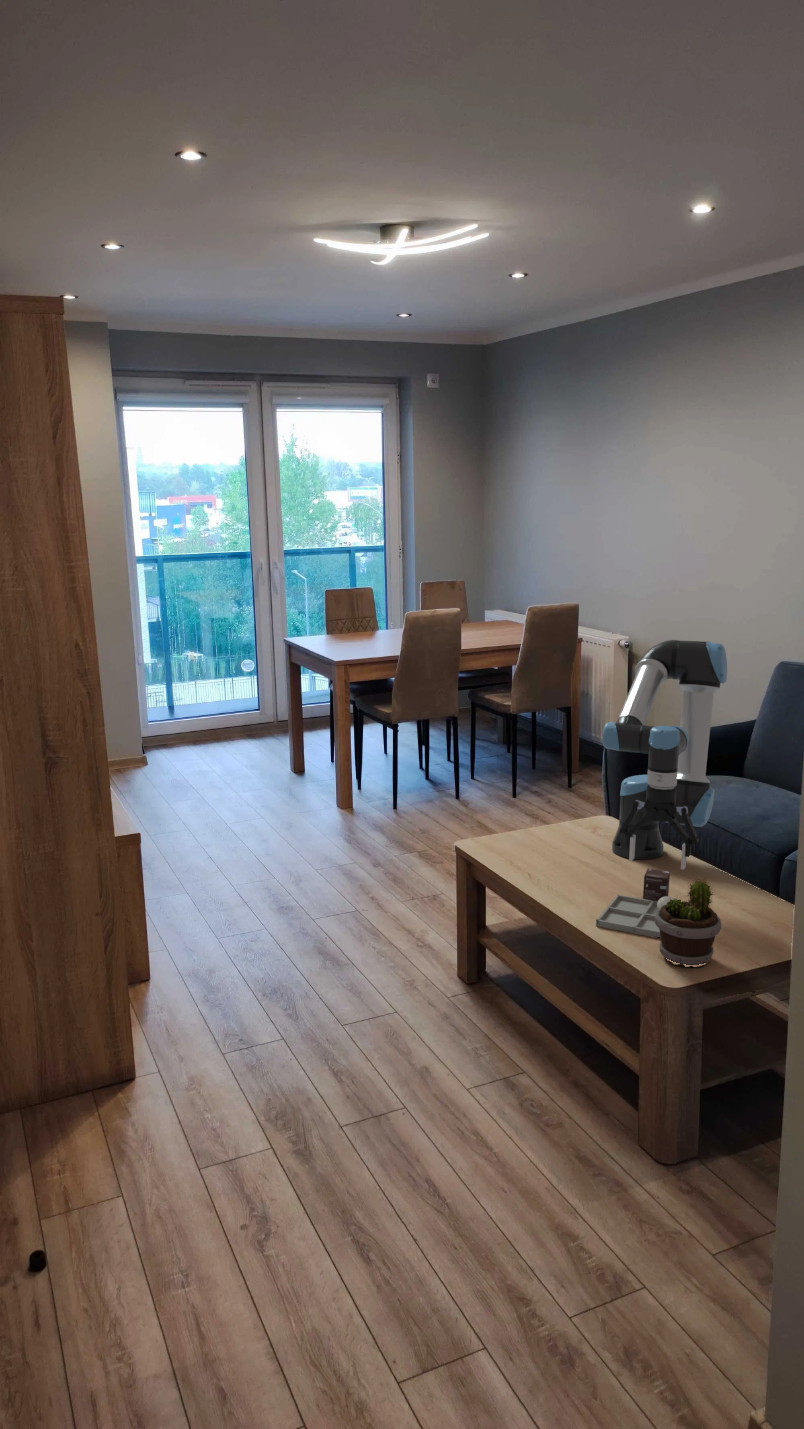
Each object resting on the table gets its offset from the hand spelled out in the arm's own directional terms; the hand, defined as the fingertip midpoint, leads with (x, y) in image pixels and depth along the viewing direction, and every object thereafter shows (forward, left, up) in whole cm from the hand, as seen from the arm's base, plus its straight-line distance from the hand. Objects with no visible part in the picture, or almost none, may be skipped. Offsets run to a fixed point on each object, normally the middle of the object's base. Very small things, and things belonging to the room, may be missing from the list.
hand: (657, 863), depth 266 cm
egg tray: (+15, +1, -10) cm, 18 cm away
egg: (+10, +5, -10) cm, 15 cm away
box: (0, 0, -10) cm, 10 cm away
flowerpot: (+33, +15, -10) cm, 37 cm away
